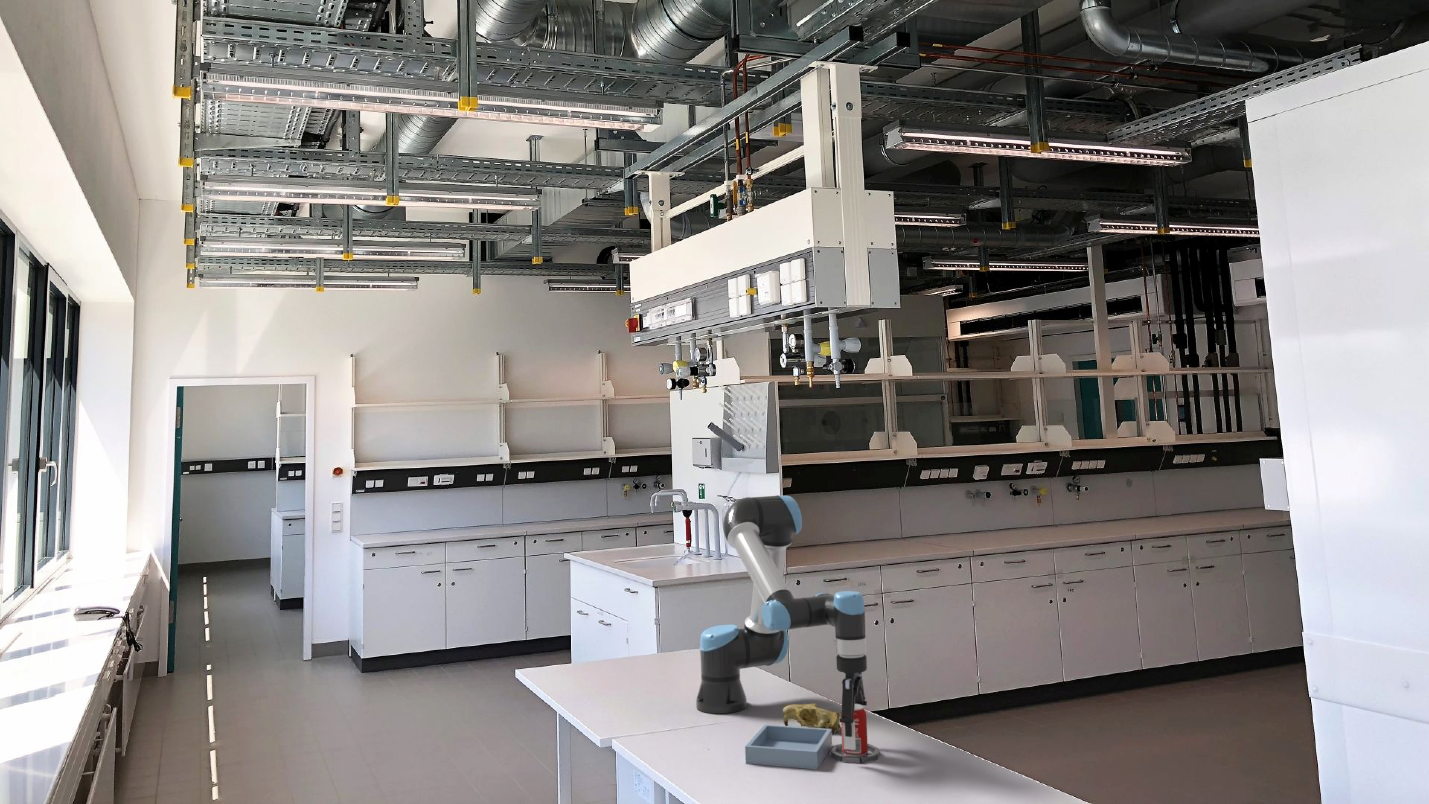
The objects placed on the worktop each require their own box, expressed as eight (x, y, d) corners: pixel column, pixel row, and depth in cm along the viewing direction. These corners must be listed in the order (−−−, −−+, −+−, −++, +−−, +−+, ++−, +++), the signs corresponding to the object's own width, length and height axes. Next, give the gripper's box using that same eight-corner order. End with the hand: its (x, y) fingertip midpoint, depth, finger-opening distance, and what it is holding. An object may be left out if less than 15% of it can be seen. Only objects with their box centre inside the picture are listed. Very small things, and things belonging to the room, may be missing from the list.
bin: (765, 740, 246) (764, 724, 246) (832, 745, 240) (831, 729, 240) (745, 763, 229) (745, 746, 229) (817, 769, 223) (816, 751, 223)
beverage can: (869, 751, 234) (868, 703, 235) (865, 760, 228) (863, 710, 229) (845, 749, 236) (843, 702, 237) (840, 758, 230) (838, 709, 231)
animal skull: (781, 725, 259) (781, 701, 259) (837, 724, 259) (837, 700, 259) (786, 737, 248) (785, 712, 248) (843, 736, 249) (843, 711, 249)
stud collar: (836, 745, 239) (836, 741, 239) (881, 749, 236) (881, 744, 236) (827, 760, 229) (827, 755, 229) (874, 764, 225) (874, 759, 225)
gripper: (845, 643, 246) (849, 724, 245) (826, 665, 223) (830, 755, 222) (873, 644, 244) (877, 726, 243) (857, 667, 220) (861, 757, 219)
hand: (854, 740), depth 232 cm, fingers open, 13 cm apart
